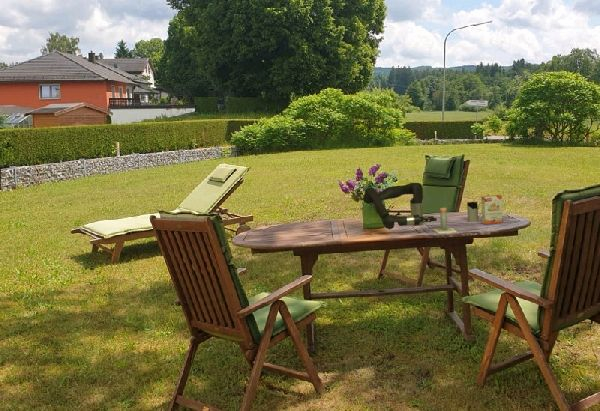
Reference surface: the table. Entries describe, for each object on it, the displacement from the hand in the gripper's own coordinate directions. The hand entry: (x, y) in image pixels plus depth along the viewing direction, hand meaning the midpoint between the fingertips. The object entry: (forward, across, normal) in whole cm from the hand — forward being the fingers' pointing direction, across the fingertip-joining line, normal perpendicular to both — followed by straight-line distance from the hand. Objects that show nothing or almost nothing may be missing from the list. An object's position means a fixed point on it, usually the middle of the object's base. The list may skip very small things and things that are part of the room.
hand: (435, 218), depth 423 cm
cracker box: (+47, -20, -10) cm, 52 cm away
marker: (+6, 0, -9) cm, 11 cm away
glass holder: (+40, -37, -10) cm, 56 cm away
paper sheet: (+6, 0, -10) cm, 12 cm away
